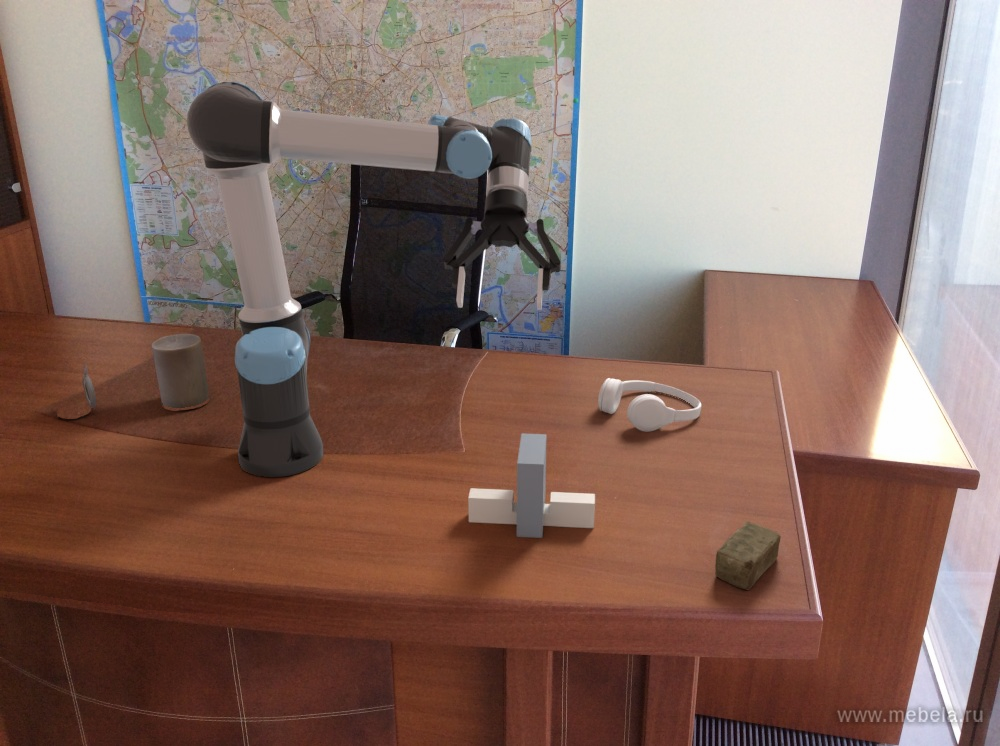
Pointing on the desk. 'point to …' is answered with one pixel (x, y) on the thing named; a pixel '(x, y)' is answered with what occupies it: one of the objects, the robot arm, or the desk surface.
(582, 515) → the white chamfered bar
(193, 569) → the desk surface
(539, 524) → the blue-grey rectangular block
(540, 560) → the desk surface
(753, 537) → the stone block
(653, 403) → the headphones
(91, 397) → the pocket watch
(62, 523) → the desk surface
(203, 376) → the grey cylinder
